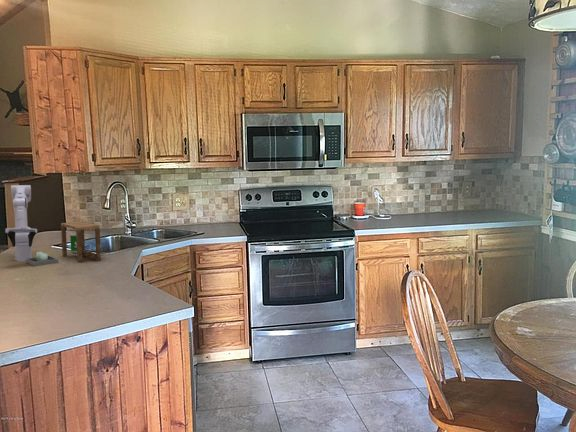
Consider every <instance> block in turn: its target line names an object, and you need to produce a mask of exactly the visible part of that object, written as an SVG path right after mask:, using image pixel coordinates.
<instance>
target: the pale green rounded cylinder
mask: <svg viewBox="0 0 576 432" xmlns="http://www.w3.org/2000/svg"><path fill="white" fill-rule="evenodd" d="M43 253H44V251H37V252H36V254H35V255H36V256H35V258H36V259H37V262H39V261H40V254H43Z"/></svg>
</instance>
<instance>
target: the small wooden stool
mask: <svg viewBox="0 0 576 432" xmlns="http://www.w3.org/2000/svg"><path fill="white" fill-rule="evenodd" d="M100 226H101V225H99V224H94V223H91V222H87V221H73V222H62V223H60V230H61V232H60V233H61V250H62V251H61V252H62V257H63V258H65V257H68V248H67V247H68V246H67V228H68V229H69V228H70V229H72V230H75V232H76V239H77V253H76V255H77V258H76V259H77V263H83V256H84V257H87V258H90V259H93V260H95V259H96V260H95V261H99V260H100V261H101V260H102V257H101V256H102V255H101V253H102V252H101V231H100V230H101V228H100ZM91 229H94V236H95V237H94V238H95V252H93V251H90V250H87V249H86V246H85V245H86V243H85V230H91Z"/></svg>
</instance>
